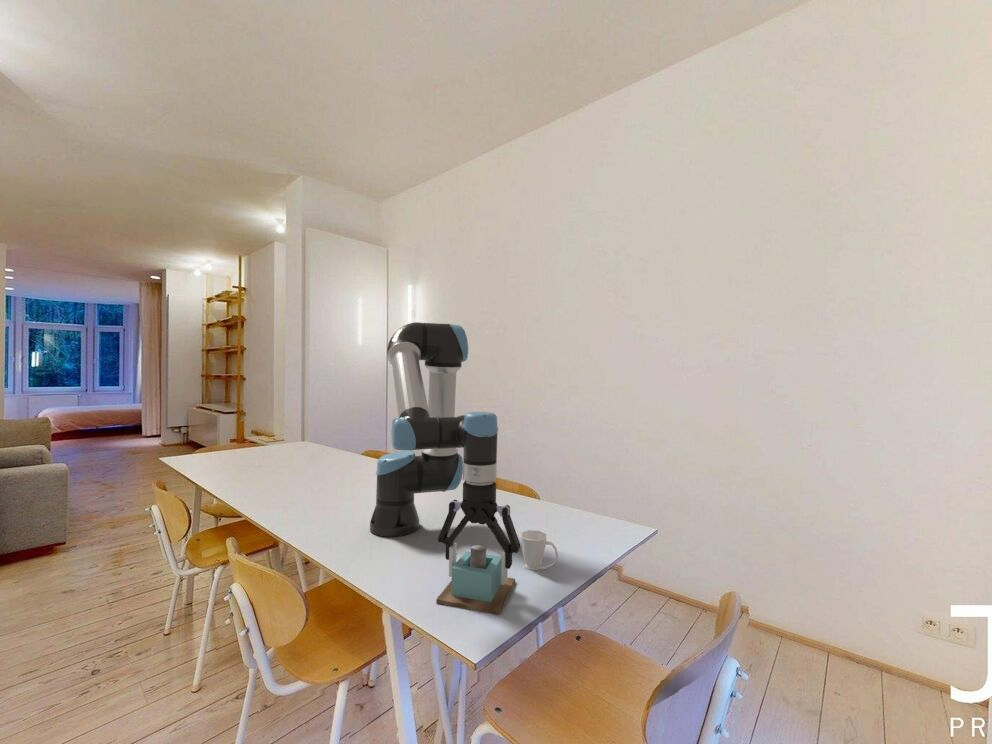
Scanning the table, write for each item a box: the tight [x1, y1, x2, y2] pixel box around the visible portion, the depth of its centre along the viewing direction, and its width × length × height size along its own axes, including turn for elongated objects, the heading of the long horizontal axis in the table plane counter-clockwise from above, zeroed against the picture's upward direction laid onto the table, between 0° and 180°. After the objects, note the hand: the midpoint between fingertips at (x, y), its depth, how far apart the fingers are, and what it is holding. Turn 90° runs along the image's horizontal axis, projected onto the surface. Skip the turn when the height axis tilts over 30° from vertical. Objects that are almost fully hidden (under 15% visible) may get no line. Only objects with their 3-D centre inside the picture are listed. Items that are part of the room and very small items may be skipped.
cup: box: [520, 530, 559, 571], centre depth 108 cm, size 7×10×8 cm
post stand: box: [435, 544, 516, 615], centre depth 95 cm, size 14×14×10 cm
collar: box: [451, 550, 502, 602], centre depth 95 cm, size 9×9×6 cm
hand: (477, 577), depth 95 cm, fingers open, 11 cm apart
